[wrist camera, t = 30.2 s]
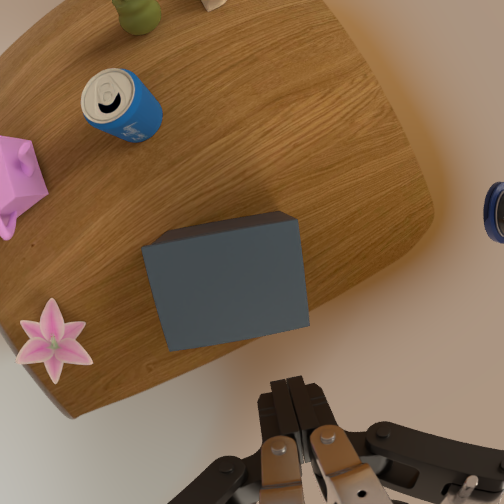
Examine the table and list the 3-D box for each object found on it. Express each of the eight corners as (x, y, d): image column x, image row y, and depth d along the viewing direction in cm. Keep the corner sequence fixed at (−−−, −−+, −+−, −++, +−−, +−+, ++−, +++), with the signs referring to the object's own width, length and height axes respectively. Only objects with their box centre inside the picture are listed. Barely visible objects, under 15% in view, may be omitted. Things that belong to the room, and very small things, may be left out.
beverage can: (125, 151, 35) (86, 139, 23) (111, 109, 33) (71, 84, 22) (170, 130, 35) (147, 108, 23) (155, 88, 33) (129, 53, 22)
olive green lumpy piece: (133, 47, 32) (111, 14, 22) (122, 24, 30) (99, -11, 21) (170, 28, 31) (156, -10, 22) (157, 6, 30) (142, -32, 20)
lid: (170, 348, 31) (169, 351, 30) (142, 246, 29) (140, 247, 28) (307, 323, 32) (309, 326, 32) (295, 218, 30) (297, 219, 29)
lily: (112, 354, 42) (95, 357, 33) (62, 391, 38) (38, 400, 29) (73, 292, 43) (50, 281, 34) (26, 330, 39) (-3, 326, 30)
